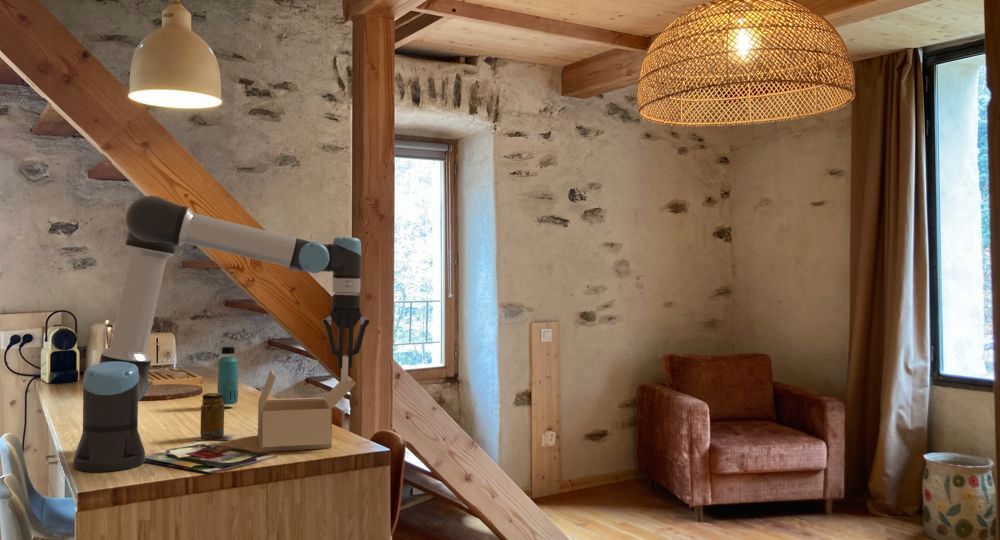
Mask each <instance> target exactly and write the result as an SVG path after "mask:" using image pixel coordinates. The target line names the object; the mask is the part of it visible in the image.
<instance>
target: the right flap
mask: <svg viewBox="0 0 1000 540" xmlns="http://www.w3.org/2000/svg"><path fill="white" fill-rule="evenodd" d="M356 384H357V383H356V382H355V381H354V380H353V378H351V377H350V376H349V375H348V381H342V380H341V379H340V381H339V382H338V383H336V385H335V386H334V387H333V388H331V389H330V391H329V392H327V394H326V395H325V396H324V397H323V400H324V399H325V400H326V402H327V403H328V405H329V406H330V408H331V409H332V410H333V408H334V407H335V406H336V405H337V404H338V403H339V402H340V401H341V400H342V399H343V398H344V397H345V396H346V395H347V394H348V393H349V392H350V391H351V389H353V387H354V386H356Z"/></svg>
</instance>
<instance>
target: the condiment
mask: <svg viewBox="0 0 1000 540" xmlns="http://www.w3.org/2000/svg"><path fill="white" fill-rule="evenodd" d="M201 401H202V402H201V403H202V404H201V405H200V428H199V429H200V432H199V433H200V437H198V438H196V439H195V441H202V442H203V441H228V440H230V439H231V438H233V436H234V434H233V433H232V434H228V433H227V434H224V433H225V432H224V431H225V429H224V428H225V405H224V404H223V394H220V393H218V392H210V393H204V394H203V395H202V400H201Z"/></svg>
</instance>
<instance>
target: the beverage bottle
mask: <svg viewBox="0 0 1000 540" xmlns="http://www.w3.org/2000/svg"><path fill="white" fill-rule="evenodd" d="M235 350H236V349H235V347H233V346H223V347H221V354H222V355H234V354H236V351H235ZM217 364H218V365H217V367H218V368H217V393H220V394H223V404H224V406H228V405H236V404H237V403H238V397H239V388H238V386H239V383H238V381H239V360H238V358H236V357H235V356H221V357H220V359H218V361H217Z"/></svg>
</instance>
